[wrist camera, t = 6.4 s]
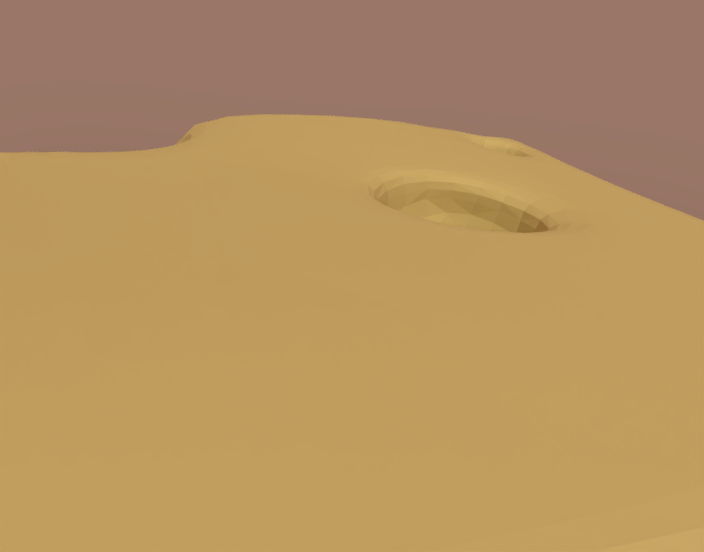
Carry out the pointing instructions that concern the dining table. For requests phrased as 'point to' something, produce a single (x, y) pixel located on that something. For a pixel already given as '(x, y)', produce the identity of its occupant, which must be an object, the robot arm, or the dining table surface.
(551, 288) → the cheese
